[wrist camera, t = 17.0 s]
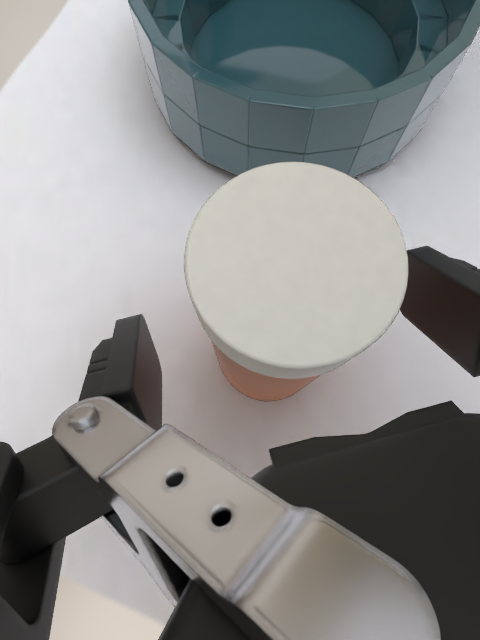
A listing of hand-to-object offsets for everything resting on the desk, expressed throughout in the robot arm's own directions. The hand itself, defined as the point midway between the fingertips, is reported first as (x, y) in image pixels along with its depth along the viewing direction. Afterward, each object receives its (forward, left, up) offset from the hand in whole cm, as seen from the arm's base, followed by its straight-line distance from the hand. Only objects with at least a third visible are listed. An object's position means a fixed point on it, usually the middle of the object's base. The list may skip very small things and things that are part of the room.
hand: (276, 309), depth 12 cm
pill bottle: (0, 0, -6) cm, 6 cm away
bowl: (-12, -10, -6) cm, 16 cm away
